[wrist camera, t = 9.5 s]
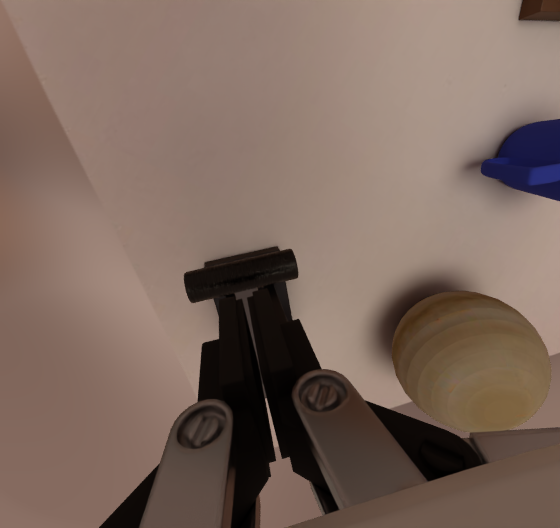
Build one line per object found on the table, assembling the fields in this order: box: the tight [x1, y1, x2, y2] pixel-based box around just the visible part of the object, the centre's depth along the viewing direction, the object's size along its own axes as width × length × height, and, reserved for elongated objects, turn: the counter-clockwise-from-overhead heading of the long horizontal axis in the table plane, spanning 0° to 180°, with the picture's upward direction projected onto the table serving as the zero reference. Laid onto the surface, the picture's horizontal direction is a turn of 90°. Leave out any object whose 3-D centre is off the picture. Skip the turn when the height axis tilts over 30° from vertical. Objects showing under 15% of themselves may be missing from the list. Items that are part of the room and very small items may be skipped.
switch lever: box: [184, 249, 298, 398], centre depth 19 cm, size 14×5×2 cm, turn 10°
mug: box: [481, 119, 560, 201], centre depth 30 cm, size 8×12×10 cm
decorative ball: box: [392, 291, 551, 433], centre depth 35 cm, size 15×15×15 cm
